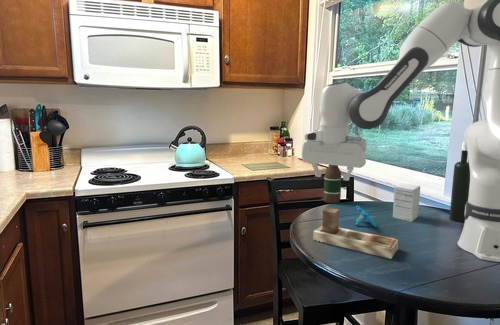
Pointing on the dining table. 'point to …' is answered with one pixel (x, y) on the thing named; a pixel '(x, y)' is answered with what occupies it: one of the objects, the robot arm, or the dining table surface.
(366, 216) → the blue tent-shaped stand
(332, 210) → the peg
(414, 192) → the supplement box
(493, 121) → the robot arm
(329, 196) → the beer bottle
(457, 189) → the wine bottle
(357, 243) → the wooden compartment tray
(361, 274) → the dining table surface
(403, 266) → the dining table surface
